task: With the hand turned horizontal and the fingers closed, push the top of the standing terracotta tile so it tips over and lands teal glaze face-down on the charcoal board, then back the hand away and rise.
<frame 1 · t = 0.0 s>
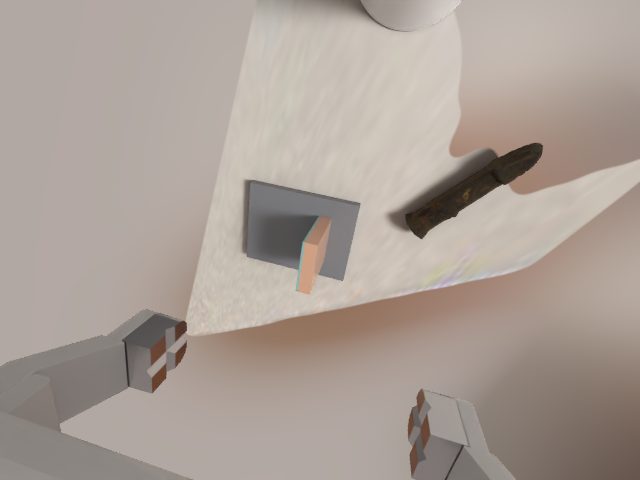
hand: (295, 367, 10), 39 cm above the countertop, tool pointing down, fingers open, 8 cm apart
tile: (321, 239, 50), point 1 cm above the countertop, touching board
hand tool: (464, 183, 43), on the countertop
board: (300, 230, 52), on the countertop
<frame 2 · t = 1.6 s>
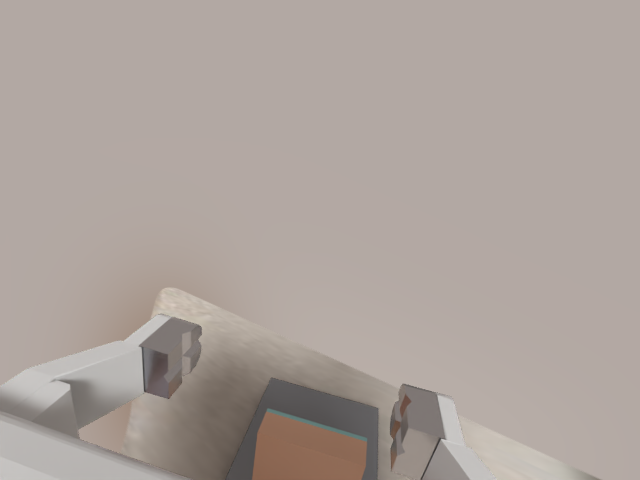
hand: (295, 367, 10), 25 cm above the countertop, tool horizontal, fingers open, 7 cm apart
board: (305, 475, 30), on the countertop
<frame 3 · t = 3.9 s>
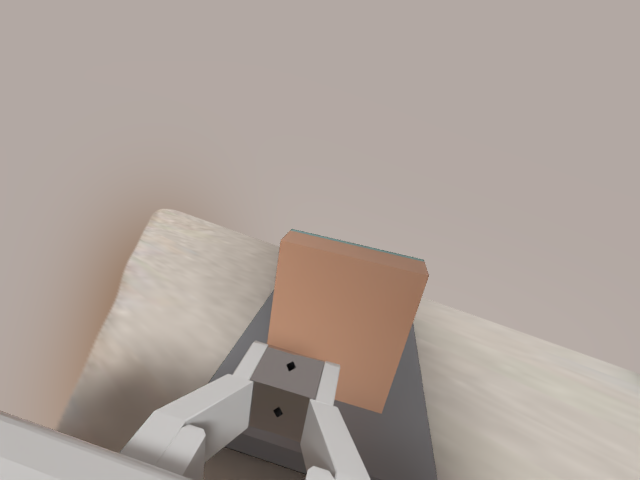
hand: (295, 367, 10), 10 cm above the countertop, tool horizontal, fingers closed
tile: (323, 382, 21), point 1 cm above the countertop, touching board
board: (329, 358, 25), on the countertop
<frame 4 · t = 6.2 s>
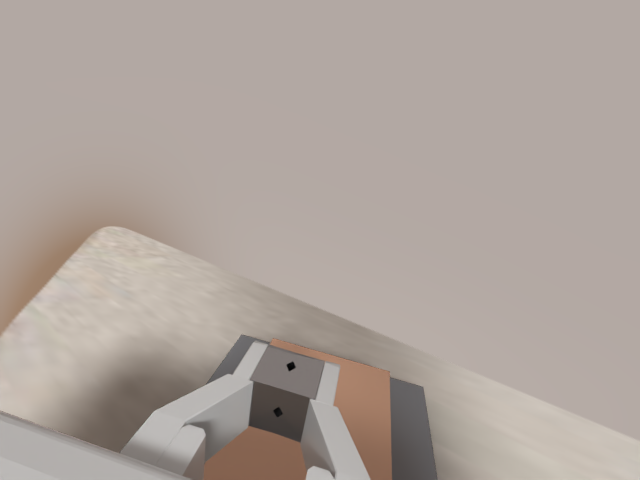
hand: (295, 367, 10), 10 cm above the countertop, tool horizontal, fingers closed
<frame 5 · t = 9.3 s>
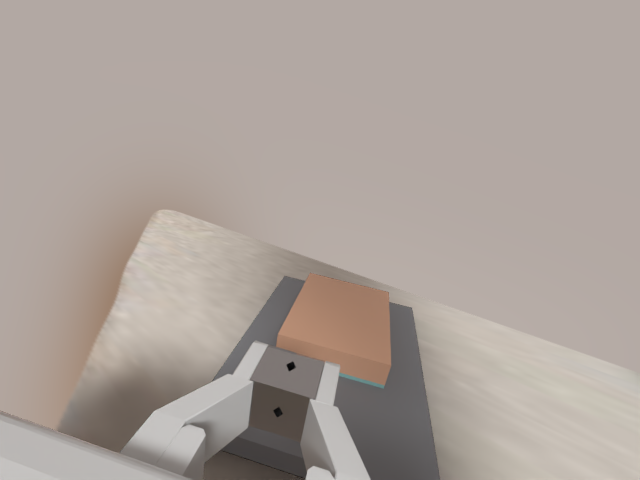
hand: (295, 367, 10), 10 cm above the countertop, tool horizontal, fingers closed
tile: (330, 361, 21), point 2 cm above the countertop, tilted 90°, touching board
board: (330, 360, 25), on the countertop
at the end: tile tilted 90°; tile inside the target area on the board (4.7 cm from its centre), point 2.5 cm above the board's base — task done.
